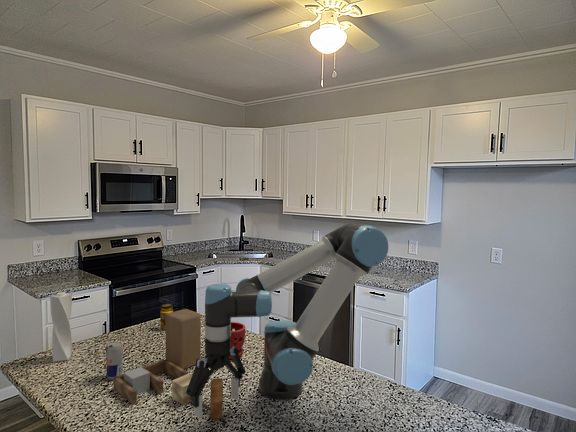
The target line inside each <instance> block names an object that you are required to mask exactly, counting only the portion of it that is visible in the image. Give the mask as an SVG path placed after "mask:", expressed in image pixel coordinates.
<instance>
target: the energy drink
mask: <svg viewBox="0 0 576 432" xmlns="http://www.w3.org/2000/svg"><path fill="white" fill-rule="evenodd" d="M123 347H124V346H123V343H122V342H121V341H112V342H109V343H107V344H106V347H105V357H106V358H105V361H106V364H105V365H106V369H105V370H106V379H107V380H108V379H109V380H108V381H114V377H116V376H119V375H122V374H124V361H123V359H124V358H123V357H124V353H123Z"/></svg>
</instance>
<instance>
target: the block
mask: <svg viewBox="0 0 576 432" xmlns="http://www.w3.org/2000/svg"><path fill="white" fill-rule="evenodd" d="M123 374H124V382H125V383H127V384H128V385H129V386H131V387H132V388H133V389H134V390H136V391H137V395H139V394H142V393H145V392H147V391H150V390H151V387H150V373H149V372H148V371H146V370H145V369H143V368H142V366H140V367H137V368H134V369H131V370H128V371H126V372H123Z"/></svg>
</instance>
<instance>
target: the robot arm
mask: <svg viewBox="0 0 576 432" xmlns="http://www.w3.org/2000/svg"><path fill="white" fill-rule="evenodd" d="M387 238H388V237H387V236H386V234H385V233H384V232H383V231H382V230H381V229H379V228H377V227H375V226H374V225H371V224H365V223H364V224H363V223H360V222H349V223H345V224H344V225H342V226H340V227H337V228H336V229H335V230H332V231H331V232H329V233H327V234H325V235H323V236H322V239H321V240H320V241H318V242H316V243H314V244H313V245H310V246H308V247H307V248H305V249H302V251H299V252H297V253H296V254H293V255H292V256H290V257H288V258H286V259H283V260H282V261H281V262H279V263H277V264H275V265H273V266H272V267H269V268H267V269H266V270H264V271H262V272H260V273H258V274H256V275H254V276H252V277H251V278H248V277H246V278H242V279H241V280H239V282H238V283H237V284H236V288H235V291H233V290H232V287H231V285H229V284H226V283H214V284H210V285H208V286H207V287H206V289H205V294H204V295H205V296H204V337H205V339H204V353H205V357H204V358H201V360H200V359H196V365H194V370H193V372H192V375H191V376H192V377H191V380H190V383H189V385H188V388H187V391H186V394H187V395H189V396H190V397H192V401H191V402H192V403H191V404H192V407H194V408H193V409H194V412H193V413H194V416H195V417H197V418H198V419H202V418H203V407H202V403H203V395H202V394H201V393H202V392H203V390H204V388H205V386H206V384H207V383H208V381H209V379H210V377H211V376H212V375H213V374H214V372H215V371H218V370H220V369H223V368H224V367H225V368H226V369H227V370H228V371H229V372H230V373H231V374H232V376H231V377H230V378H231V379H230V381H231V382H230V398H232V399H233V400H235V401H238V400H239V396H240V395H239V392H240V391H239V388H240V387H241V380H242V379H243V377H244V376H243V375H245V374H246V371H247V370H246V369H245V366H244V364H243V362H242V359H241V358H240V356H239V355H238V349H237V348H235V347H233V346H231V338H230V336H231V322H232V318H255V317H257V318H260V317H267V316H269V315H271V314H272V309H273V307H272V306H273V299H272V293H274V292H276V291H278V290H279V289H281V288H283V287H285V286H286V285H289V284H291V283H293V282H294V281H296V280H298V279H299V278H302V277H303V276H306V275H307V274H309V273H311V272H314V271H315V270H316V269H319V268H321V267H322V266H324V265H326V264H328V263H329V262H332V261H334V262H335V263H333V266H332V268H331V269H330V271H329V272H328V274H327V275H326V277H324V279H323V281H322V283H321V284H320V286H319V288H318V290H316V292H315V293H314V295H313V297H312V299H311V300H310V301H309V303H308V305H307V306H306V308H305V309H304V310H303V312H302V314H301V315H300V317H299V319H298V320H297V322H295V321H290V320H289V321H288V320H276V321H274V320H273V321H270V322H267V323H266V324H265V326H264V331H263V334H264V338H263V339H264V344H263V345H264V347H263V348H264V349H263V351H264V352H263V355H264V356H263V368H262V371H261V374H260V377H259V378H258V379H259V380H258V391H259V393H260V394H261V395H262V396H263V397H265V398H268V399H270V400H271V399H272V400H276V401H277V400H278V401H283V400H285V401H286V400H291V399H294V398H296V397H298V396H299V395H301V394H302V392H303V383H304V382H305V381H307V380H308V379H309V378H310V377H311V375H312V373H313V370H314V363H313V359H314V358H315V357H316V355H317V354H318V352H319V350H320V349H319V341H320V340H321V338H322V336H323V335H324V333H325V331H326V330H327V329H328V327H329V326H330V323H332V321H333V319H334V318H335V316H336V315H337V313H338V312H339V310H340V308H341V307H342V305H343V304H344V302H345V300H346V299H347V297H348V296H349V295H350V293H351V291H352V290H353V288H354V287H355V285H356V283H357V282H358V280H359V279H360V277H363V276H366V275H368V274H369V272H370V271H371V270H372V268H373V267H376V266H379V265H380V264H381V263H383V262H384V261H385V259H386V258H387V256H388V253H389V242H388V239H387ZM230 355H231V357H232V359H231V360H232V362H233V363H232V362H231V361H230V359H228V358H229V356H230ZM233 364H234V365H233Z"/></svg>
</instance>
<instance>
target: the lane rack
mask: <svg viewBox="0 0 576 432" xmlns="http://www.w3.org/2000/svg"><path fill="white" fill-rule="evenodd" d="M141 367H142V366H141ZM142 368H143V369H145V370H146V371H148V372H149V373H150V389H153V390H154V391H155V392H156V393H158V394H160V395H161V394H164V380H163V379H162V378H160V377H158V376H157V374H158V375H161V374H162V373H166V372H167V373H166V374H168V375H169V374H170V375H169V376H171V375H172V376H171V377H173V378H174V379H177V378H180V377H182V376H184V375H187V374H188V371H186V369H182V368H180V367H178V366H177V365H175V364H173V363H172V362H170V361H168V360H167V359H166V358H165V359H163V360H161V361H158V362H154V363H152V364H151V363H150V364H148V365H146V366H143V367H142ZM113 390H114V391H116V392H117V393H118V394H119V395H121V397H123V398H124V399H125V400H127V401H128V403H130V404H131V405H132V406H133V405H137V403H138V399H137V398H138V397H137V396H138V394H137V391H136V390H134V389H133V388H132V387H131V386H129V385H128V384H127V383H125V382H124V373H123V374H122V375H119V376H116V377H114V380H113Z"/></svg>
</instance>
